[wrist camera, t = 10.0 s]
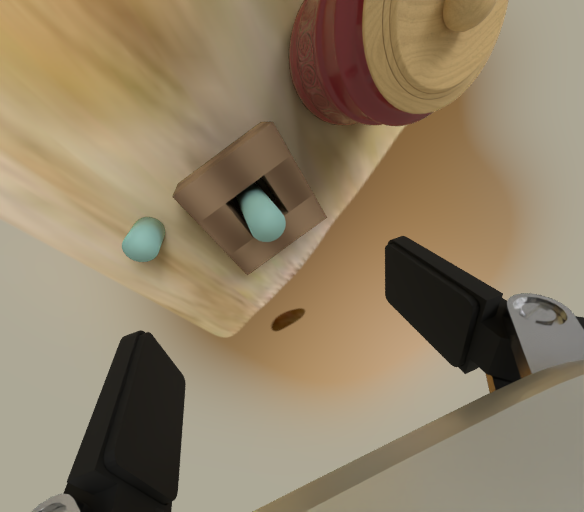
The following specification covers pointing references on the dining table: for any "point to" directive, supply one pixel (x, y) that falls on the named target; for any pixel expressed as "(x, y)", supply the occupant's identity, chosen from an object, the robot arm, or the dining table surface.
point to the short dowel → (144, 240)
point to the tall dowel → (261, 214)
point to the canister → (389, 56)
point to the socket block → (237, 177)
